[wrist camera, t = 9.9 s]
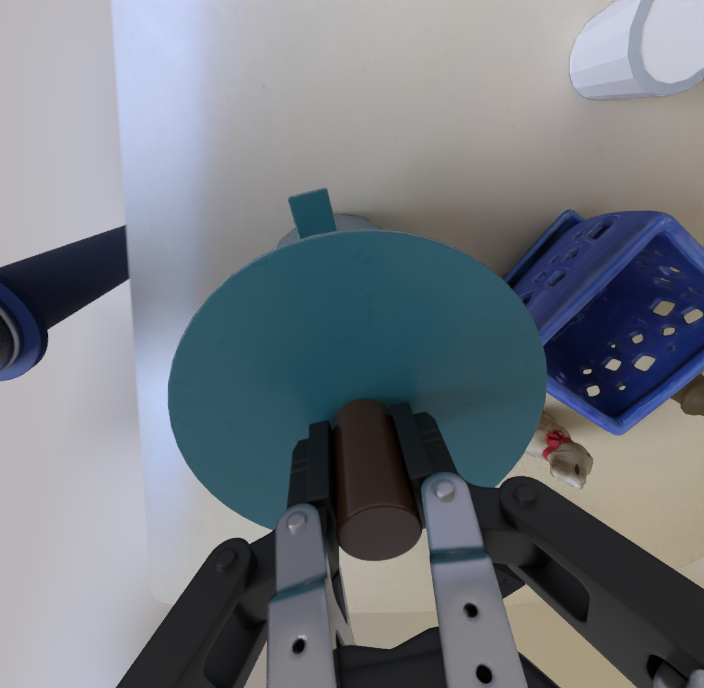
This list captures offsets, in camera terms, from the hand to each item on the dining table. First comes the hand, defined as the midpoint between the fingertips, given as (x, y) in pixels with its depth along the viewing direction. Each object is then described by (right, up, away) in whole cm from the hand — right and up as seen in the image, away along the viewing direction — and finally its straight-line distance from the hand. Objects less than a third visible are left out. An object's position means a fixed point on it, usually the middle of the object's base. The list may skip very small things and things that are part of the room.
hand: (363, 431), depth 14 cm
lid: (0, 0, +1) cm, 1 cm away
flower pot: (+19, +9, +22) cm, 31 cm away
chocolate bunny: (+21, -6, +30) cm, 37 cm away
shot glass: (+19, +25, +14) cm, 34 cm away
